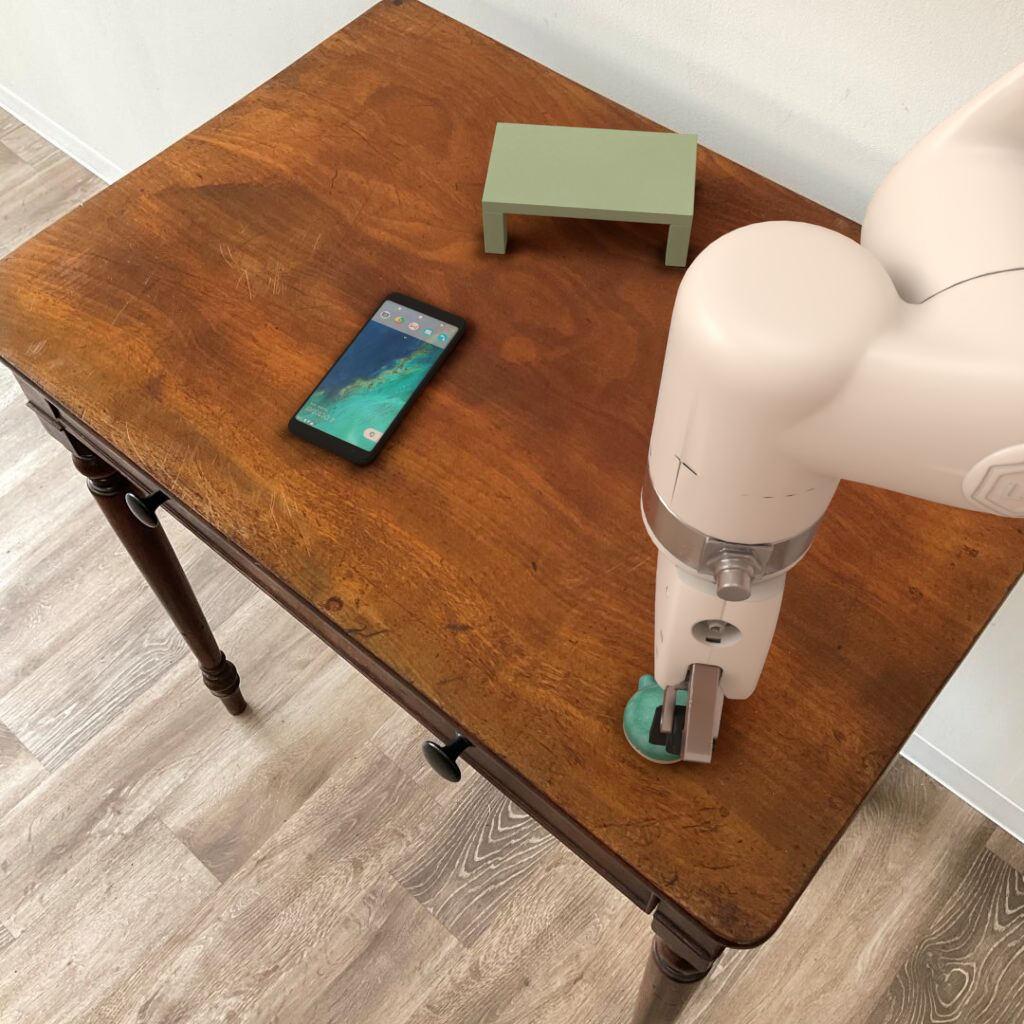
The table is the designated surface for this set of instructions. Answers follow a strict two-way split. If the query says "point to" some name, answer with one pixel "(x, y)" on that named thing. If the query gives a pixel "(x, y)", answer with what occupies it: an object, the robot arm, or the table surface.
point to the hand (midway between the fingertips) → (682, 657)
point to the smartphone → (377, 378)
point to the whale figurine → (648, 719)
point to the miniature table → (591, 179)
